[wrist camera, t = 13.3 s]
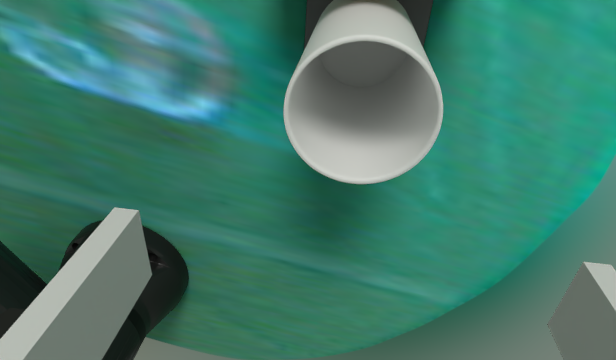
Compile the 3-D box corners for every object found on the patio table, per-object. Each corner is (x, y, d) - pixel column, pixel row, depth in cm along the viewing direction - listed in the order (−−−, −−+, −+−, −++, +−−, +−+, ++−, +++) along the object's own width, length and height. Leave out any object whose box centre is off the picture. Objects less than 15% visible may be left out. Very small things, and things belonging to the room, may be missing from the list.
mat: (302, 95, 38) (301, 96, 38) (309, -38, 32) (309, -37, 32) (409, 106, 37) (410, 108, 37) (438, -27, 31) (438, -27, 31)
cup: (310, 82, 37) (279, 174, 23) (319, -17, 32) (286, 26, 19) (401, 93, 36) (422, 193, 23) (422, -7, 32) (464, 46, 19)
